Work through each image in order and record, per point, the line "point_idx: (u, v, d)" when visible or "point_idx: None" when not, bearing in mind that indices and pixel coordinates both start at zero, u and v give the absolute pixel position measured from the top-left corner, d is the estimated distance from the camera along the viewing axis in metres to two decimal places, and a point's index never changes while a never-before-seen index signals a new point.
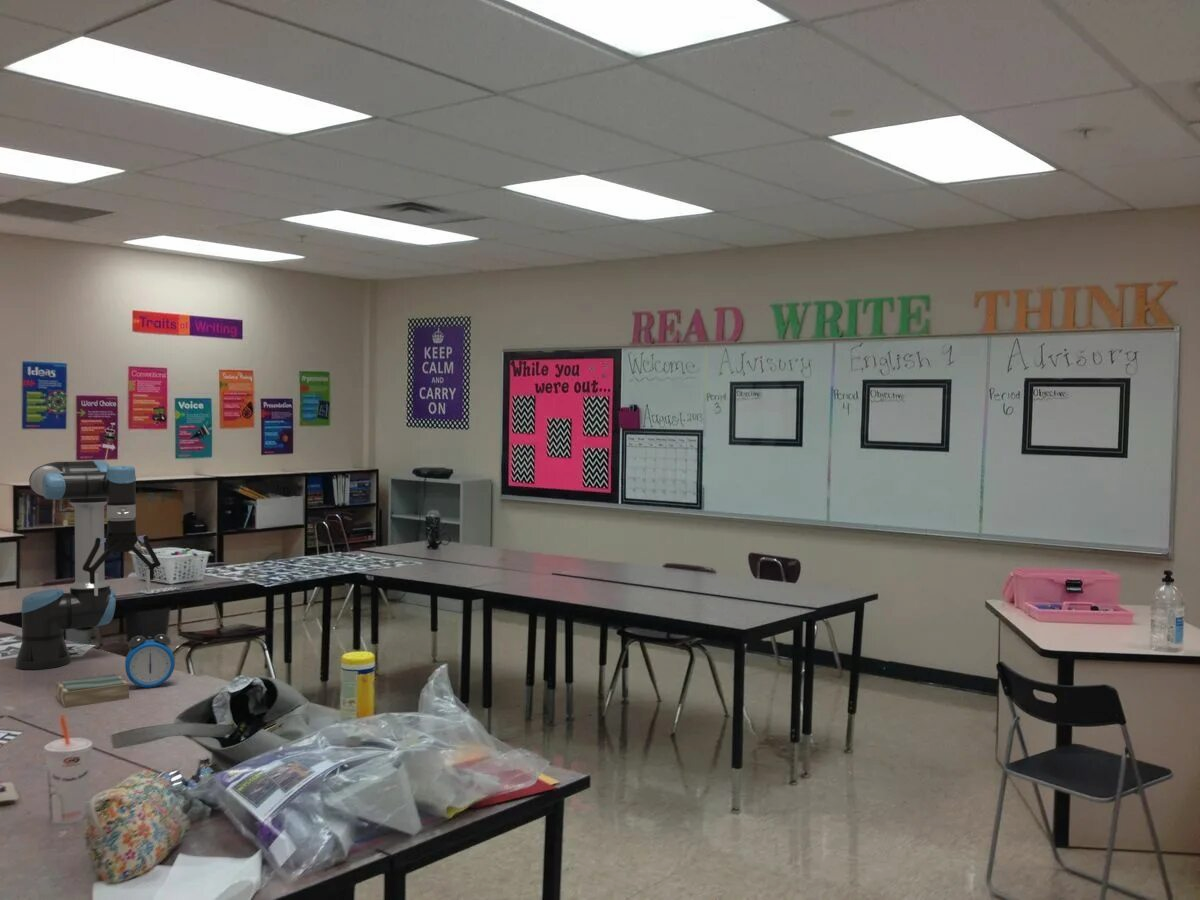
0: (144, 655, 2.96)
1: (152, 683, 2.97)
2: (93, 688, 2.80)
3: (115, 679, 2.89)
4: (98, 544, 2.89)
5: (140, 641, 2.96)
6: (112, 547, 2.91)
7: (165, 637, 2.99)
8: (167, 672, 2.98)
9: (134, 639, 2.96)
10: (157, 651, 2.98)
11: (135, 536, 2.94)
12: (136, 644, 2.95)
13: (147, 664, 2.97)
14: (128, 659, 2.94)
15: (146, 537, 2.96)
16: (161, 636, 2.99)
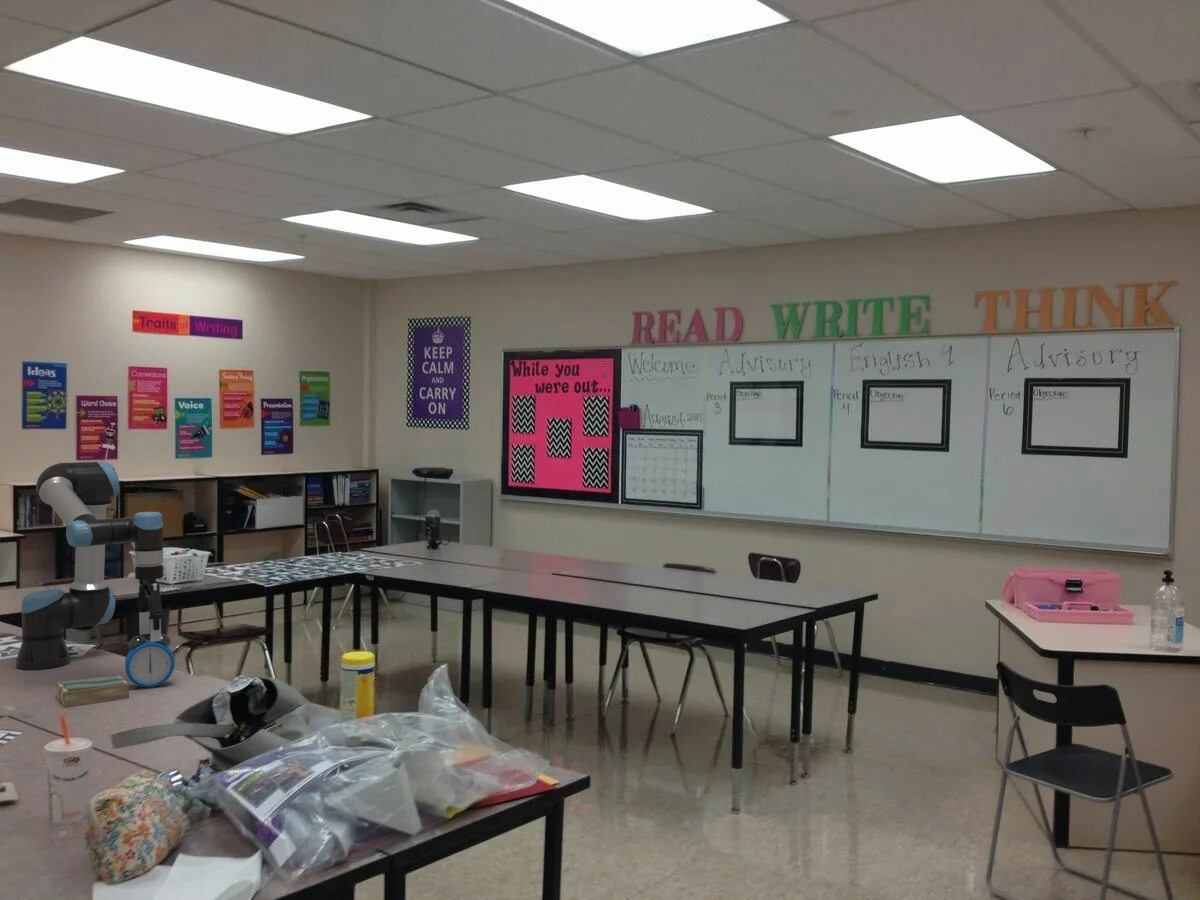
0: (144, 655, 2.96)
1: (152, 683, 2.97)
2: (93, 688, 2.80)
3: (115, 679, 2.89)
4: (140, 586, 3.02)
5: (140, 641, 2.96)
6: (141, 590, 2.99)
7: (165, 637, 2.99)
8: (167, 672, 2.98)
9: (134, 639, 2.96)
10: (157, 651, 2.98)
11: (148, 583, 2.95)
12: (136, 644, 2.95)
13: (147, 664, 2.97)
14: (128, 659, 2.94)
15: (150, 586, 2.92)
16: (161, 636, 2.99)
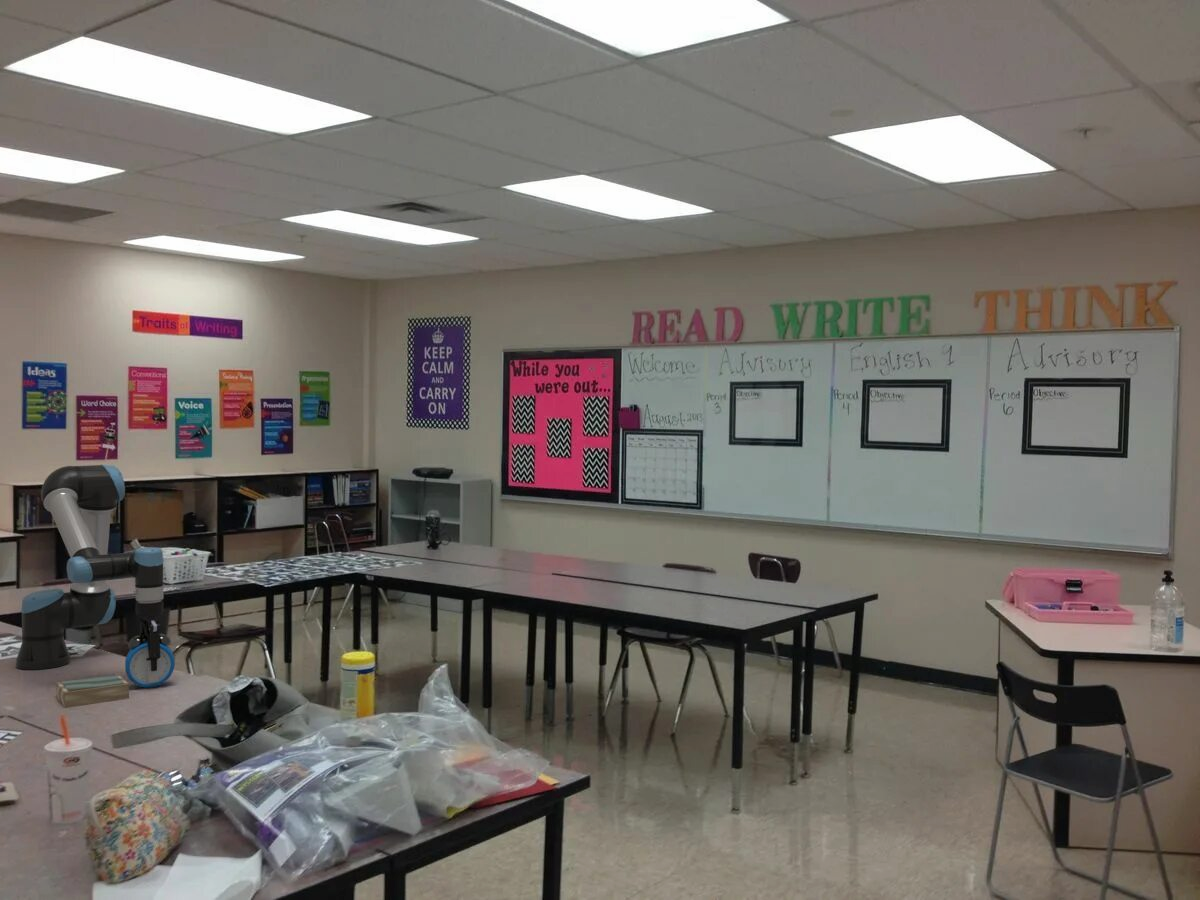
0: (144, 655, 2.96)
1: (152, 683, 2.97)
2: (93, 688, 2.80)
3: (115, 679, 2.89)
4: (140, 624, 3.02)
5: (140, 641, 2.96)
6: (141, 628, 2.99)
7: (165, 637, 2.99)
8: (167, 672, 2.98)
9: (134, 639, 2.96)
10: None
11: (148, 620, 2.95)
12: (136, 644, 2.95)
13: (147, 664, 2.97)
14: (128, 659, 2.94)
15: (150, 627, 2.93)
16: (161, 636, 2.99)
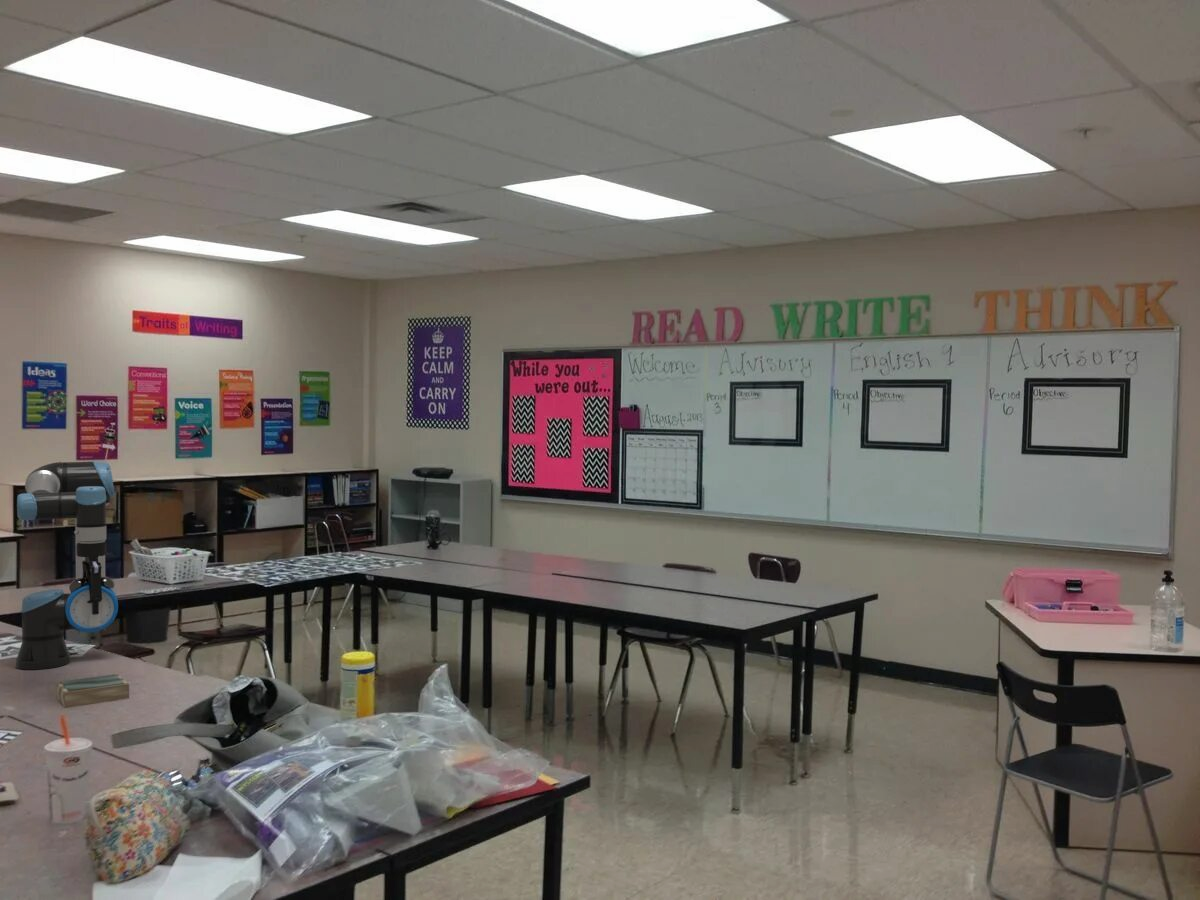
0: (86, 598, 2.83)
1: (93, 627, 2.84)
2: (93, 688, 2.80)
3: (115, 679, 2.89)
4: None
5: (81, 583, 2.83)
6: (83, 570, 2.86)
7: (108, 580, 2.86)
8: (110, 616, 2.85)
9: (75, 581, 2.83)
10: None
11: (90, 561, 2.82)
12: (77, 586, 2.82)
13: None
14: (68, 602, 2.81)
15: (91, 568, 2.80)
16: (104, 579, 2.86)
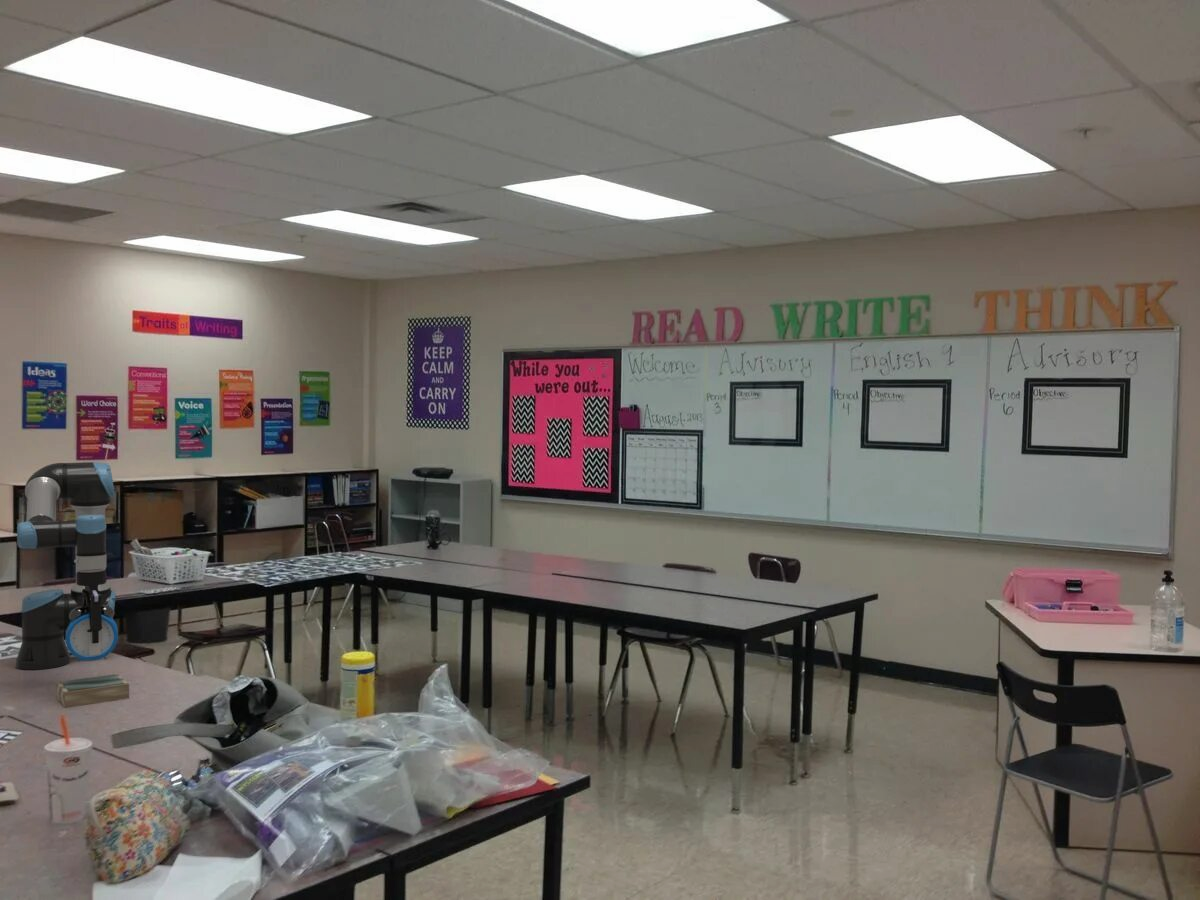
0: (86, 627, 2.83)
1: (93, 656, 2.84)
2: (93, 688, 2.80)
3: (115, 679, 2.89)
4: None
5: (81, 612, 2.83)
6: (83, 598, 2.86)
7: (108, 608, 2.86)
8: (110, 645, 2.85)
9: (75, 610, 2.83)
10: None
11: (90, 590, 2.82)
12: (77, 615, 2.82)
13: None
14: (68, 630, 2.81)
15: (91, 597, 2.80)
16: (104, 607, 2.86)
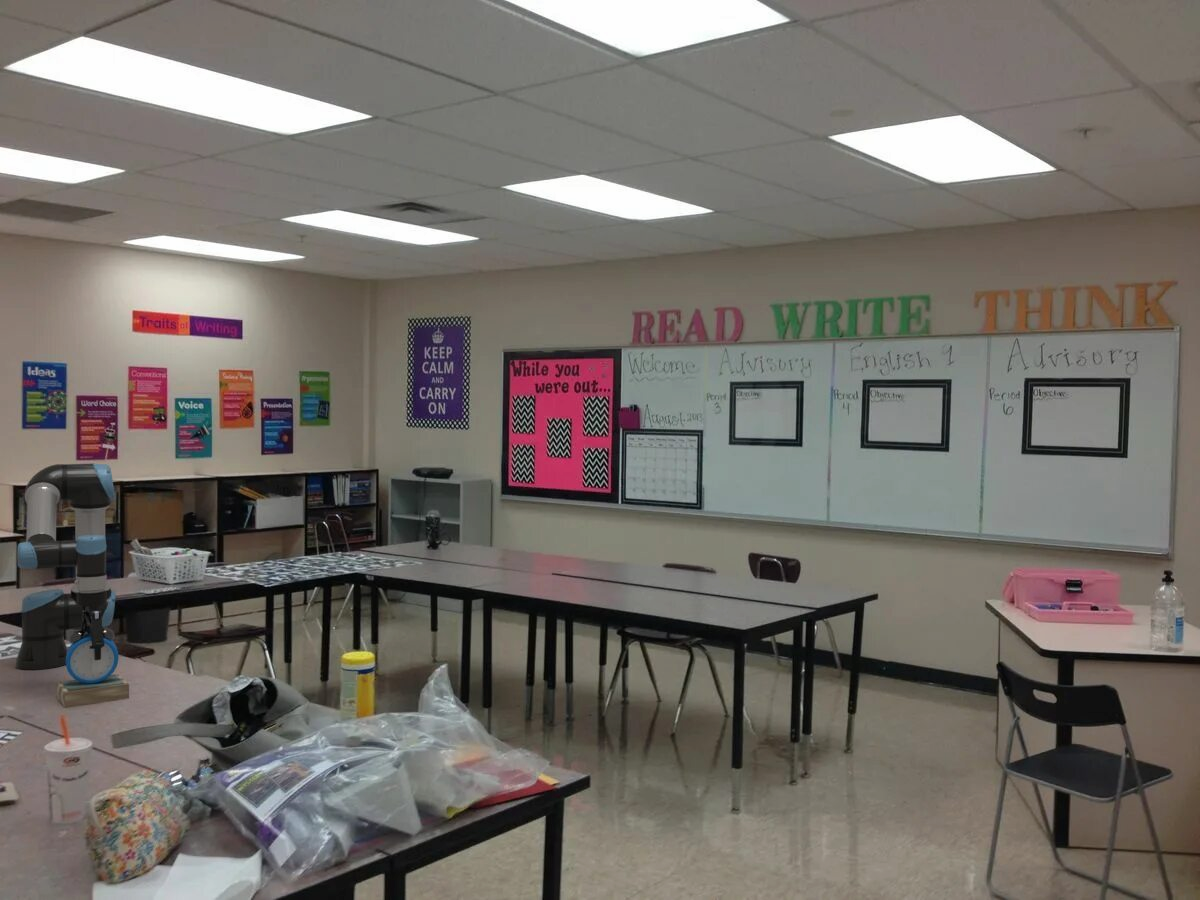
0: (86, 650, 2.83)
1: (94, 679, 2.84)
2: (93, 688, 2.80)
3: (115, 679, 2.89)
4: (83, 612, 2.90)
5: (81, 635, 2.83)
6: (83, 617, 2.87)
7: (108, 631, 2.87)
8: (110, 667, 2.86)
9: (75, 633, 2.83)
10: None
11: (90, 610, 2.82)
12: (77, 638, 2.82)
13: (89, 659, 2.84)
14: (69, 654, 2.81)
15: (91, 614, 2.80)
16: (104, 630, 2.86)
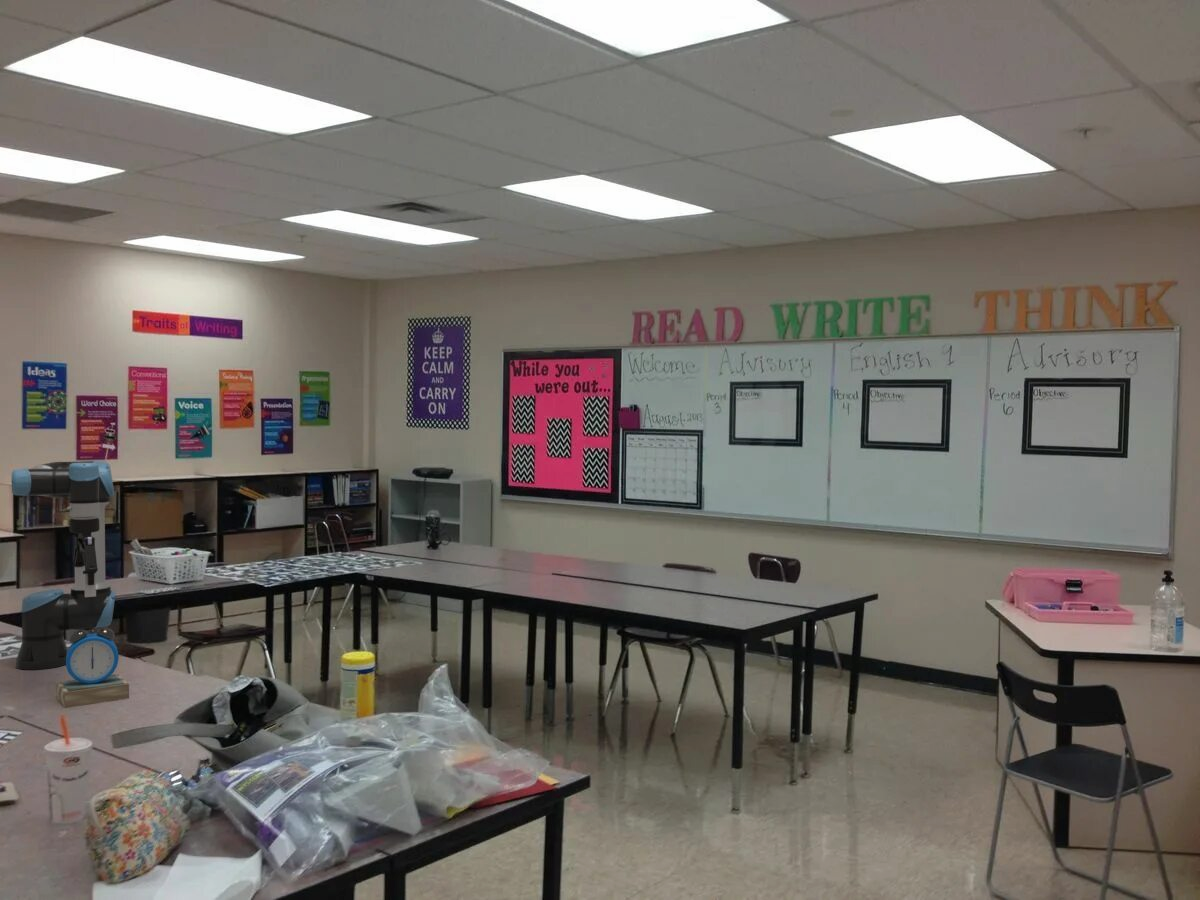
0: (86, 650, 2.83)
1: (94, 679, 2.84)
2: (93, 688, 2.80)
3: (115, 679, 2.89)
4: (75, 539, 2.91)
5: (82, 635, 2.83)
6: (76, 544, 2.87)
7: (108, 631, 2.87)
8: (110, 667, 2.86)
9: (75, 633, 2.83)
10: (100, 645, 2.85)
11: (83, 537, 2.83)
12: (77, 638, 2.82)
13: (89, 659, 2.84)
14: (69, 654, 2.81)
15: (84, 539, 2.81)
16: (104, 630, 2.86)
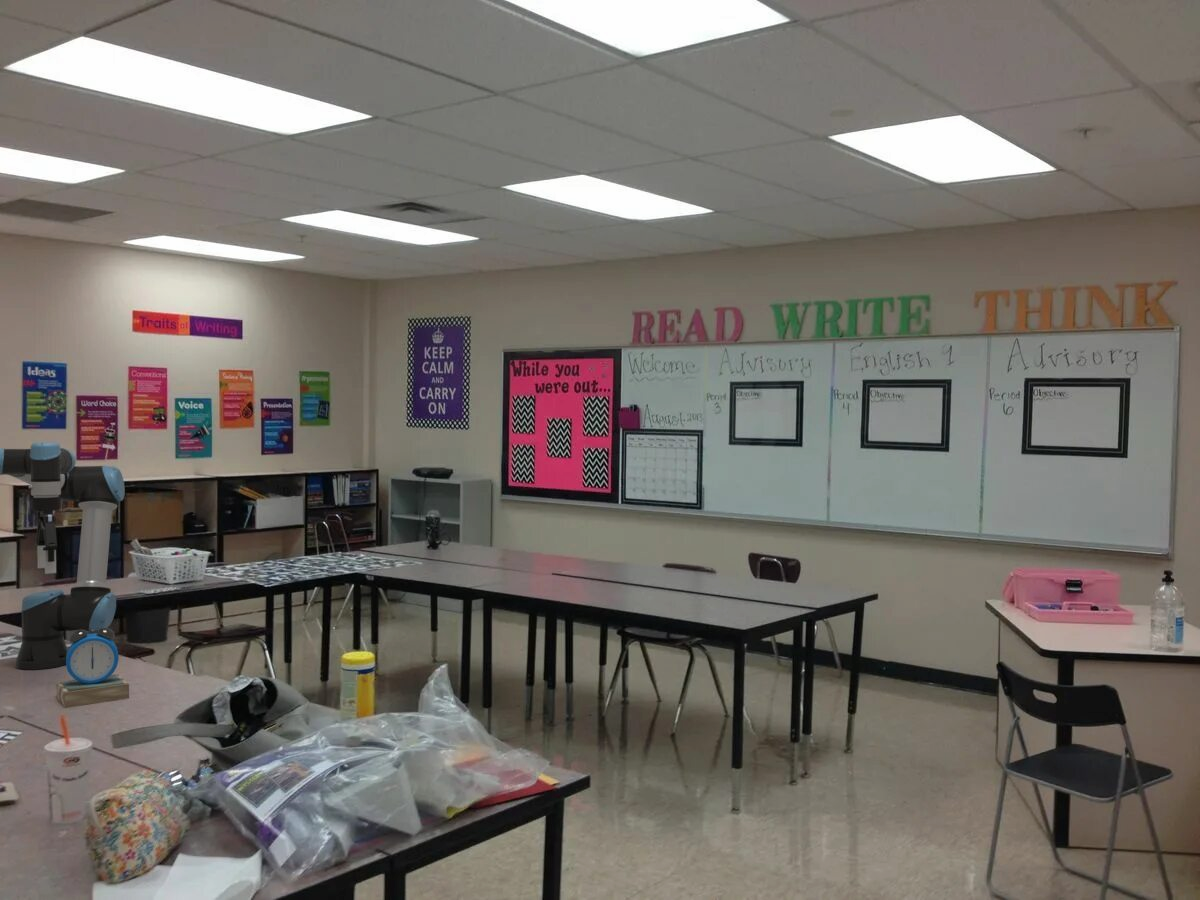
0: (86, 650, 2.83)
1: (94, 679, 2.84)
2: (93, 688, 2.80)
3: (115, 679, 2.89)
4: None
5: (82, 635, 2.83)
6: (38, 523, 2.93)
7: (108, 631, 2.87)
8: (110, 667, 2.86)
9: (75, 633, 2.83)
10: (100, 645, 2.85)
11: (44, 514, 2.88)
12: (77, 638, 2.82)
13: (89, 659, 2.84)
14: (69, 654, 2.81)
15: (44, 517, 2.86)
16: (104, 630, 2.86)
